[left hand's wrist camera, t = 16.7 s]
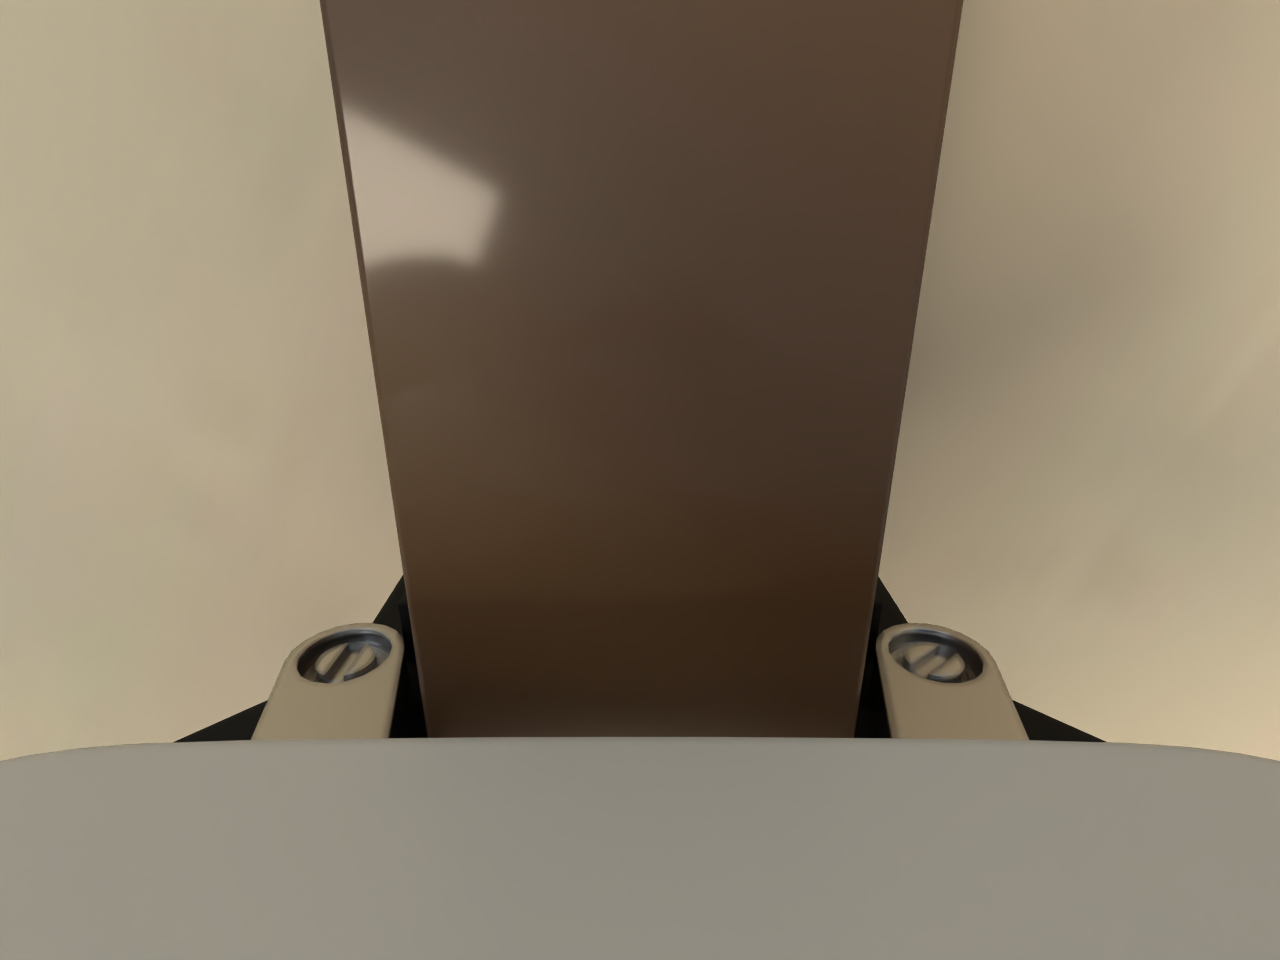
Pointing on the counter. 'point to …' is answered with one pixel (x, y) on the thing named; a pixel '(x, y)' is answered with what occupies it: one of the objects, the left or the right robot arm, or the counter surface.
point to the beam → (641, 343)
